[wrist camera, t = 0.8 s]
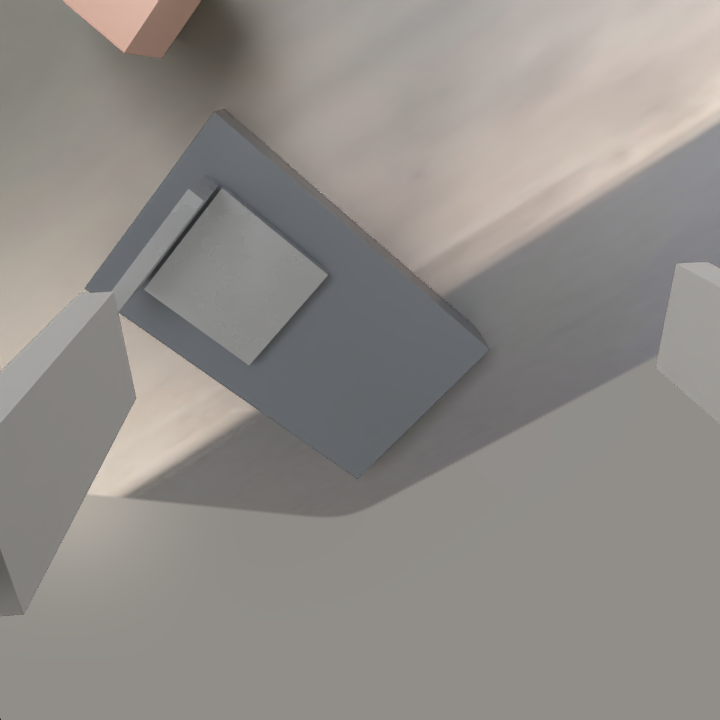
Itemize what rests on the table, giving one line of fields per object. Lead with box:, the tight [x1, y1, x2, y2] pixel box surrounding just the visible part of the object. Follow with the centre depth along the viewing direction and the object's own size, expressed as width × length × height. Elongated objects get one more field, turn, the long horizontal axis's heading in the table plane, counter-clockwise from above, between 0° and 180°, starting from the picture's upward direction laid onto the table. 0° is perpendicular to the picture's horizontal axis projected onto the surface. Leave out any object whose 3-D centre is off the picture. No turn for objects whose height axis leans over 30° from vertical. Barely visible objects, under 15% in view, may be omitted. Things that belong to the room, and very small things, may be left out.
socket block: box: [85, 109, 489, 479], centre depth 37 cm, size 20×12×4 cm, turn 49°
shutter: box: [111, 175, 328, 365], centre depth 32 cm, size 8×7×5 cm
